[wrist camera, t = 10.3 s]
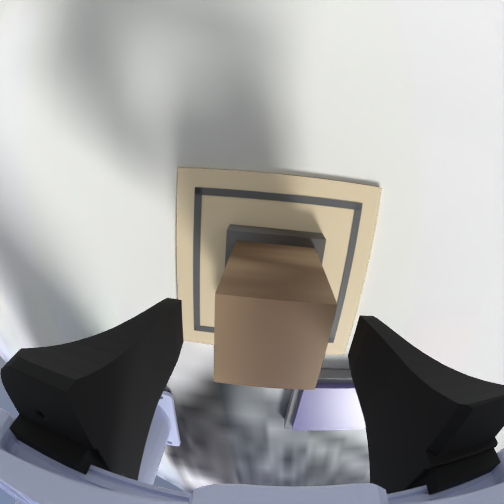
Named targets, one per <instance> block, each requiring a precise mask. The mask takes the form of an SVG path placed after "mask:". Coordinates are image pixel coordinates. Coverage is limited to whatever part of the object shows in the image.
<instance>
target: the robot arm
mask: <svg viewBox="0 0 504 504" xmlns="http://www.w3.org/2000/svg"><path fill="white" fill-rule="evenodd" d="M182 344H183V322H182V300H178V299H171V298H166V299H164V300H162V301H161V302H159V303H157V304H156V305H154V306H152V307H151V308H149V309H147V310H146V311H144V312H142V313H141V314H139V315H137V316H135V317H134V318H132V319H130V320H128V321H126V322H124V323H122V324H120V325H118V326H116V327H114V328H112V329H110V330H107V331H105V332H102V333H100V334H97V335H95V336H92V337H88V338H85V339H81V340H78V341H75V342H71V343H66V344H61V345H55V346H49V347H39V348H23V349H20V350H19V351H18V352H17V353H16V354H15V355H14V356H13V357H12V358H11V359H10V360H9V361H8V362H7V363H6V365H5V366H4V367H3V368H2V369H1V379H2V383H3V385H4V387H5V389H6V391H7V393H8V395H9V397H10V399H11V400H12V402H13V404H14V406H15V407H16V409H17V411H18V412H19V416H18V417H17V418H16V420H15V419H14V418H13V417H12V416H11V415H10V414H9V413H8V412H6V411H5V410H3V409H1V408H0V487H1V488H2V489H3V490H4V491H6V492H7V493H9V494H10V495H11V496H13V497H14V498H15V499H16V501H15V503H14V504H504V448H503V449H502V450H500V451H499V452H498V453H496V451H495V449H494V447H496V446H497V443H498V442H497V440H496V438H495V436H496V435H497V434H498V432H499V431H500V430H501V429H502V428H503V426H504V385H501V384H496V383H491V382H487V381H483V380H480V379H477V378H474V377H471V376H468V375H466V374H463V373H460V372H458V371H456V370H454V369H451V368H449V367H447V366H445V365H443V364H441V363H440V362H438V361H436V360H434V359H433V358H431V357H429V356H428V355H426V354H424V353H423V352H421V351H420V350H419V349H417V348H416V347H414V346H413V345H411V344H410V343H409V342H407V341H406V340H405V339H403V338H402V337H401V336H399V335H398V334H397V333H396V332H394V331H393V330H392V329H390V328H389V327H388V326H387V325H385V324H384V323H383V322H381V321H380V320H379V319H377V318H375V317H374V316H360V317H359V320H358V324H357V327H356V331H355V334H354V337H353V341H352V344H351V347H350V351H349V354H348V358H349V365H350V371H351V376H352V380H353V383H354V387H355V390H356V393H357V396H358V400H359V403H360V406H361V410H362V413H363V417H364V421H365V426H366V433H367V440H368V450H369V461H370V483H367V484H344V485H331V486H310V487H280V486H258V485H245V484H213V485H208V486H203V487H199V488H197V489H195V490H194V492H193V493H192V494H190V493H185V492H180V491H175V490H171V489H166V488H162V487H158V486H154V485H153V483H154V480H155V477H156V474H157V471H158V467H159V464H160V461H161V458H162V455H163V452H164V449H165V446H166V444H168V445H173V446H179V445H180V436H179V431H178V425H177V419H176V413H175V407H174V400H173V396H172V394H171V393H169V392H167V391H164V389H165V387H166V385H167V382H168V380H169V378H170V376H171V374H172V372H173V370H174V367H175V365H176V363H177V361H178V358H179V355H180V351H181V348H182Z"/></svg>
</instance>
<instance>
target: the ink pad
mask: <svg viewBox="0 0 504 504" xmlns="http://www.w3.org/2000/svg"><path fill="white" fill-rule="evenodd" d="M284 426H285V429H292V430H352V429H366V426H365V421H364V417H363V413H362V410H361V406H360V403H359V400H358V396H357V393H356V390H355V387H354V383H353V380H352V376H351V371H350V369H321V370H320V374H319V377H318V380H317V384H316V387H315V390H299V389H292V391H291V395H290V399H289V403H288V407H287V411H286V415H285V419H284Z"/></svg>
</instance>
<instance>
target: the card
mask: <svg viewBox="0 0 504 504" xmlns="http://www.w3.org/2000/svg"><path fill="white" fill-rule="evenodd" d="M381 190H382V188H381V187H375V186H369V185H362V184H356V183H349V182H342V181H335V180H327V179H320V178H311V177H303V176H294V175H284V174H274V173H263V172H251V171H237V170H221V169H202V168H178V180H177V288H178V300H182V322H183V341H190V342H197V343H204V344H211V345H214V319H215V293H216V290H217V288H218V285H219V282H220V280H221V277H222V275H223V272H224V270H225V253H226V234H227V229H228V227H229V225H230V224H234V225H245V226H256V227H267V228H277V229H287V230H297V231H307V232H316V233H323V235H324V237H325V238H326V244H325V250H324V256H323V262H322V266H323V269H324V271H325V274H326V276H327V279H328V281H329V284H330V286H331V289H332V292H333V294H334V297H335V299H336V302H337V309H336V313H335V318H334V322H333V326H332V330H331V334H330V338H329V341H328V345H327V349H326V353H325V354H333V355H344V354H345V351H346V347H347V344H348V341H349V337H350V334H351V331H352V327H353V323H354V320H355V316H356V312H357V309H358V305H359V301H360V297H361V293H362V289H363V285H364V281H365V276H366V272H367V267H368V263H369V258H370V253H371V248H372V243H373V238H374V233H375V227H376V222H377V216H378V210H379V204H380V197H381Z"/></svg>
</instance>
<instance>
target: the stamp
mask: <svg viewBox="0 0 504 504" xmlns="http://www.w3.org/2000/svg"><path fill="white" fill-rule="evenodd" d="M325 244H326V238H325V237H324V235H323V233H316V232H307V231H297V230H287V229H277V228H267V227H256V226H245V225H234V224H230V225H229V227H228V229H227V234H226V253H225V270H224V272H223V275H222V277H221V280H220V282H219V285H218V288H217V290H216V293H215V319H214V382H220V383H228V384H236V385H246V386H256V387H267V388H281V389H299V390H315V387H316V384H317V380H318V377H319V374H320V370H321V367H322V363H323V360H324V356H325V353H326V349H327V345H328V341H329V338H330V334H331V330H332V326H333V322H334V318H335V313H336V309H337V302H336V299H335V297H334V294H333V292H332V289H331V286H330V284H329V281H328V279H327V276H326V274H325V271H324V269H323V266H322V262H323V256H324V250H325Z"/></svg>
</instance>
